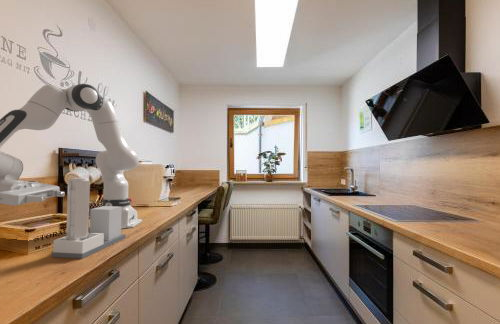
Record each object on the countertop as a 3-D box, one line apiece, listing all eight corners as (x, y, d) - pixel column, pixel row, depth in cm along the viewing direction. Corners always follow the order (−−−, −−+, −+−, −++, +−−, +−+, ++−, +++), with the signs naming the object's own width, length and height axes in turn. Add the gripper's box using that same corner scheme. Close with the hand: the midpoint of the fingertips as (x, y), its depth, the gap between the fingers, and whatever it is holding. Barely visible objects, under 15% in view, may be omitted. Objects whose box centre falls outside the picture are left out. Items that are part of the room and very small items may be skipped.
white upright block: (62, 249, 88) (64, 177, 88) (81, 244, 93) (83, 177, 94) (72, 253, 85) (74, 178, 85) (92, 247, 90) (93, 177, 91)
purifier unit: (101, 236, 109) (102, 205, 110) (125, 237, 108) (126, 206, 108) (51, 256, 85) (53, 216, 85) (82, 258, 84) (83, 217, 84)
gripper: (-14, 188, 81) (30, 192, 82) (38, 180, 102) (73, 184, 102) (-15, 207, 81) (29, 212, 82) (37, 195, 102) (71, 199, 102)
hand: (54, 196), depth 92 cm, fingers open, 8 cm apart
